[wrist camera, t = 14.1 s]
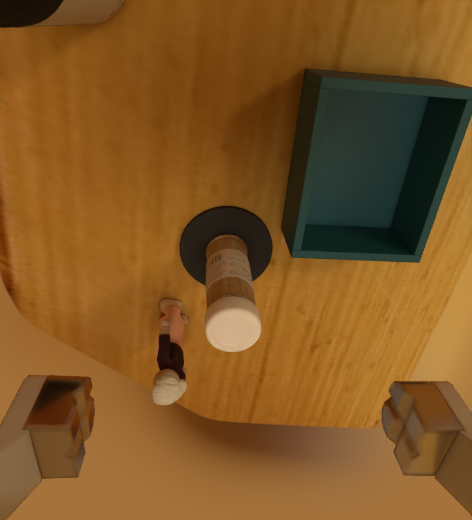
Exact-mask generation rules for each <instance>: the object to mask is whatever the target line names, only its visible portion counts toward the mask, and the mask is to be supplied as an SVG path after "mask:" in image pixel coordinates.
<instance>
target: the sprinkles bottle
mask: <svg viewBox="0 0 472 520" xmlns="http://www.w3.org/2000/svg"><path fill="white" fill-rule="evenodd" d="M247 255H248V252H247V246H246V244H245V243H244V241H243V240H242V239H240V238H239V237H237V236H235V235H232V234H224V235H219V236H217V237H215V238H214V239H213V240H211V241H210V243H209V244H208V246H207V249H206V258H207V264H206V299H207V311H206V314H205V334H206V337H207V339H208V341H209V342H210V343H211V344H212V345H213V346H214V347H215V348H217V349H219V350H222V351H226V352H237V351H242V350H245V349H247V348H249V347H250V346H252V345H253V344H254V343H255V342H256V341H257V340H258V338H259V336H260V333H261V321H260V315H259V311H258V309H257V307H256V305H255V299H254V288H253V283H252V276H251V271H250V265H249V261H248V257H247Z"/></svg>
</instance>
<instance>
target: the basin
mask: <svg viewBox="0 0 472 520" xmlns="http://www.w3.org/2000/svg"><path fill="white" fill-rule="evenodd" d="M471 115H472V87H468V86H464V85H460V84H456V83H452V82H448V81H444V80H437V79H425V78H413V77H401V76H389V75H376V74H364V73H352V72H340V71H328V70H316V69H305V72H304V79H303V86H302V92H301V99H300V106H299V113H298V119H297V126H296V133H295V139H294V146H293V153H292V159H291V166H290V173H289V180H288V186H287V193H286V200H285V206H284V213H283V220H282V226H281V230H282V232H283V235H284V238H285V241H286V243H287V246H288V249H289V252H290V255H291V257H292V258H316V259H341V260H365V261H390V262H415V263H419V262H420V259H421V257H422V256H421V255H422V254H423V251H424V248H425V245H426V242H427V240H428V237H429V234H430V231H431V228H432V225H433V223H434V220H435V217H436V214H437V211H438V209H439V206H440V203H441V200H442V197H443V194H444V192H445V189H446V186H447V183H448V180H449V178H450V175H451V172H452V169H453V166H454V163H455V161H456V158H457V155H458V152H459V149H460V147H461V144H462V141H463V138H464V135H465V132H466V130H467V127H468V124H469V121H470V118H471Z"/></svg>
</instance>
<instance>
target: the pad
mask: <svg viewBox="0 0 472 520" xmlns="http://www.w3.org/2000/svg"><path fill="white" fill-rule="evenodd" d="M224 234H232V235H235V236H237V237H239V238H240V239H242V240H243V241H244V243H245V244H246V246H247V252H248V255H247V257H248V261H249V265H250V271H251V276H252V281H254V280H255V279H256V278H258V277H259V276H260V275H261V274H262V273H263V272H264V270H265V269H266V268H267V266H268V264H269V262H270V259H271V255H272V240H271V236H270V233H269V231H268V229H267V227H266V225H265V224H264V223H263V222H262V221H261V220H260V219H259V218H258V217H257V216H256V215H254V214H253V213H251V212H249V211H247V210H244V209H242V208H238V207H231V206H222V207H216V208H212V209H209V210H207V211H204V212H202V213H201V214H199V215H198V216H196V217H195V218H194V219H193V220H192V221H191V222H190V223H189V224H188V225H187V227H186V228H185V230H184V232H183V235H182V237H181V242H180V256H181V260H182V263H183V265H184V267H185V269H186V270H187V271H188V273H189V274H190V275H191V276H192V277H193V278H194V279H196V280H197V281H199V282H200V283H202V284H204V285H206V264H207V258H206V249H207V246H208V244H209V243H210V241H211V240H213V239H214V238H215V237H217V236H219V235H224Z"/></svg>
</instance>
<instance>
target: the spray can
mask: <svg viewBox="0 0 472 520" xmlns="http://www.w3.org/2000/svg"><path fill="white" fill-rule="evenodd" d="M123 1H124V0H0V28H9V27H16V28H17V27H39V26H61V25H83V24H96V23H101V22H104V21H106V20H108V19H110V18H111V17H112V16H113V15H115V14H116V12H117V11H118V10H119V9H120V7H121V5H122V3H123Z"/></svg>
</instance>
